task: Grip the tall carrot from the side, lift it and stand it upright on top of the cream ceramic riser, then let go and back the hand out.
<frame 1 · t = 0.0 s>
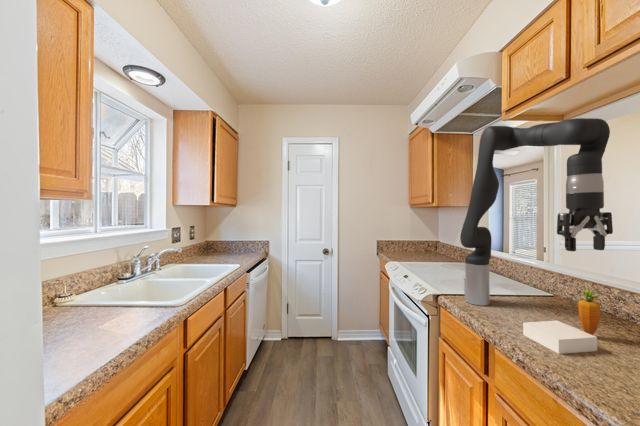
hand: (584, 250, 75), 29 cm above the counter, tool pointing down, fingers open, 8 cm apart
carrot: (589, 337, 87), on the counter
riser: (557, 342, 84), on the counter
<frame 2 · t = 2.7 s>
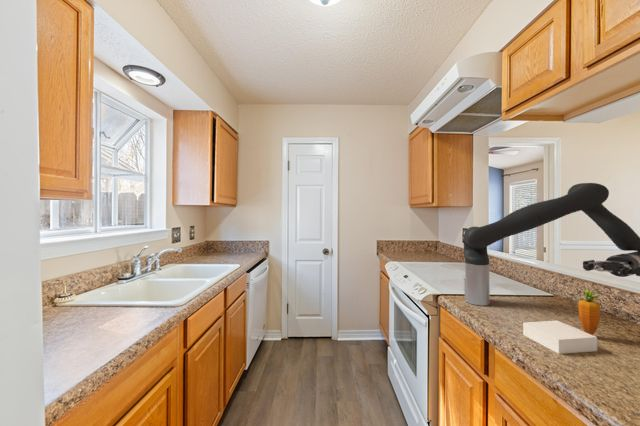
hand: (603, 269, 91), 20 cm above the counter, tool horizontal, fingers open, 8 cm apart
nothing on the counter moved.
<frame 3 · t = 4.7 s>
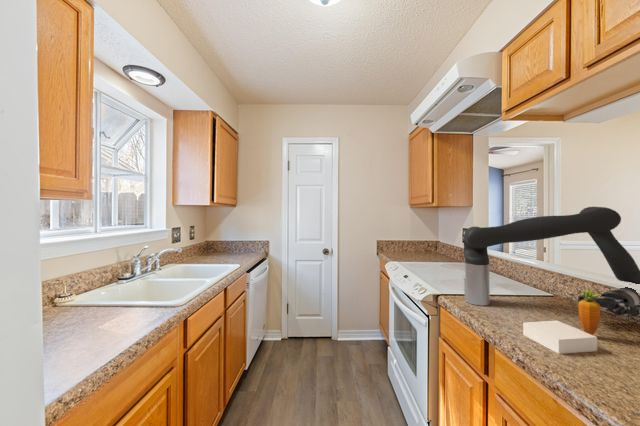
hand: (598, 308, 90), 8 cm above the counter, tool horizontal, fingers open, 8 cm apart
nothing on the counter moved.
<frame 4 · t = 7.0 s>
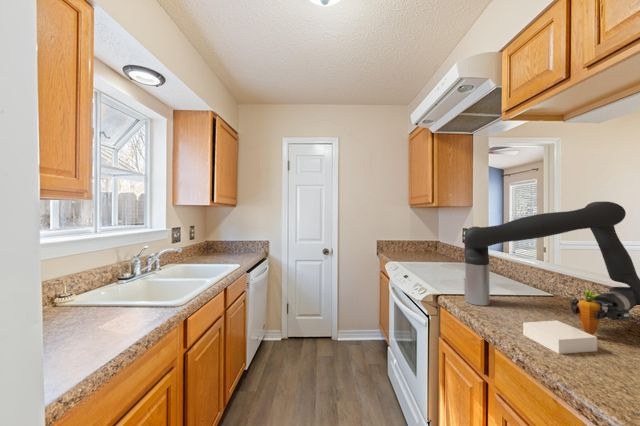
hand: (585, 313, 86), 8 cm above the counter, tool horizontal, fingers closed on carrot, 4 cm apart
carrot: (589, 337, 87), on the counter, touching gripper
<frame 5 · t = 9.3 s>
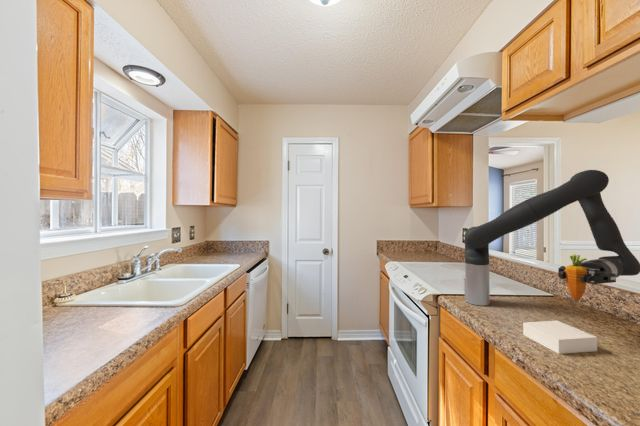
hand: (571, 277, 84), 20 cm above the counter, tool horizontal, fingers closed on carrot, 4 cm apart
carrot: (576, 302, 86), point 11 cm above the counter, touching gripper
when the fingers open (13 cm above the counter, at t = 12.0 s): carrot drops 1 cm, resting on riser.
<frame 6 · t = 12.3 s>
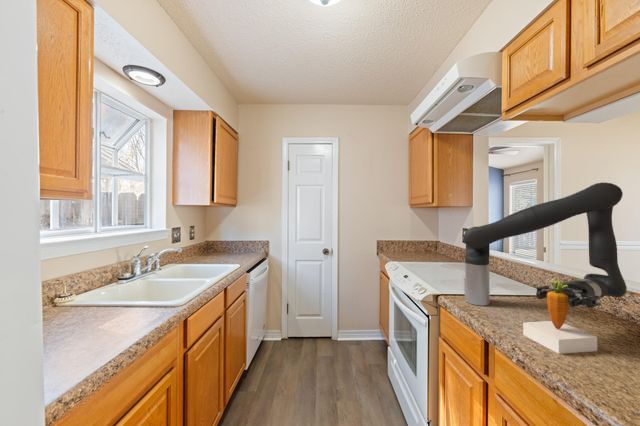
hand: (553, 299, 83), 13 cm above the counter, tool horizontal, fingers open, 7 cm apart
carrot: (557, 329, 84), point 4 cm above the counter, touching riser
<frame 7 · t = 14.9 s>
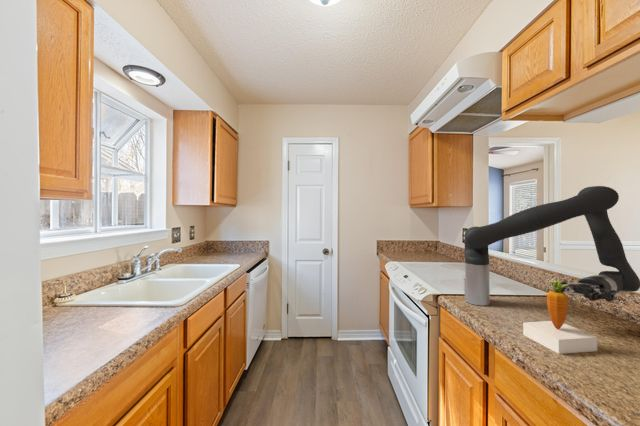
hand: (573, 293, 87), 14 cm above the counter, tool horizontal, fingers open, 8 cm apart
nothing on the counter moved.
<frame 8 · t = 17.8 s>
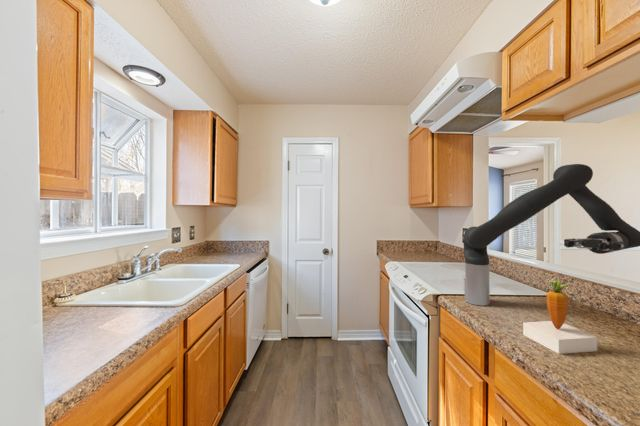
hand: (582, 245, 93), 28 cm above the counter, tool horizontal, fingers open, 8 cm apart
nothing on the counter moved.
at the end: carrot inside the target area on the riser (0.1 cm from its centre), point 3.8 cm above the riser's base; carrot tilted 1°; the gripper is holding nothing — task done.
